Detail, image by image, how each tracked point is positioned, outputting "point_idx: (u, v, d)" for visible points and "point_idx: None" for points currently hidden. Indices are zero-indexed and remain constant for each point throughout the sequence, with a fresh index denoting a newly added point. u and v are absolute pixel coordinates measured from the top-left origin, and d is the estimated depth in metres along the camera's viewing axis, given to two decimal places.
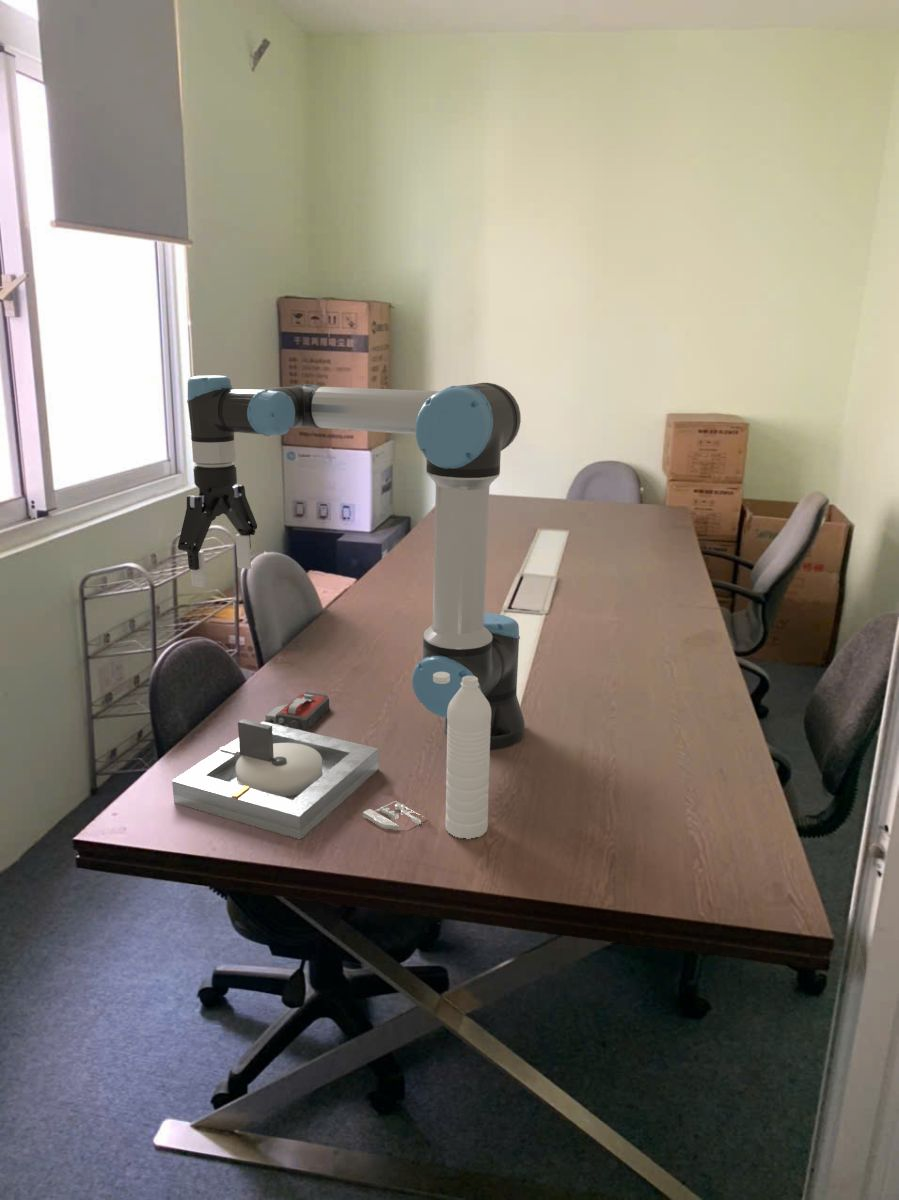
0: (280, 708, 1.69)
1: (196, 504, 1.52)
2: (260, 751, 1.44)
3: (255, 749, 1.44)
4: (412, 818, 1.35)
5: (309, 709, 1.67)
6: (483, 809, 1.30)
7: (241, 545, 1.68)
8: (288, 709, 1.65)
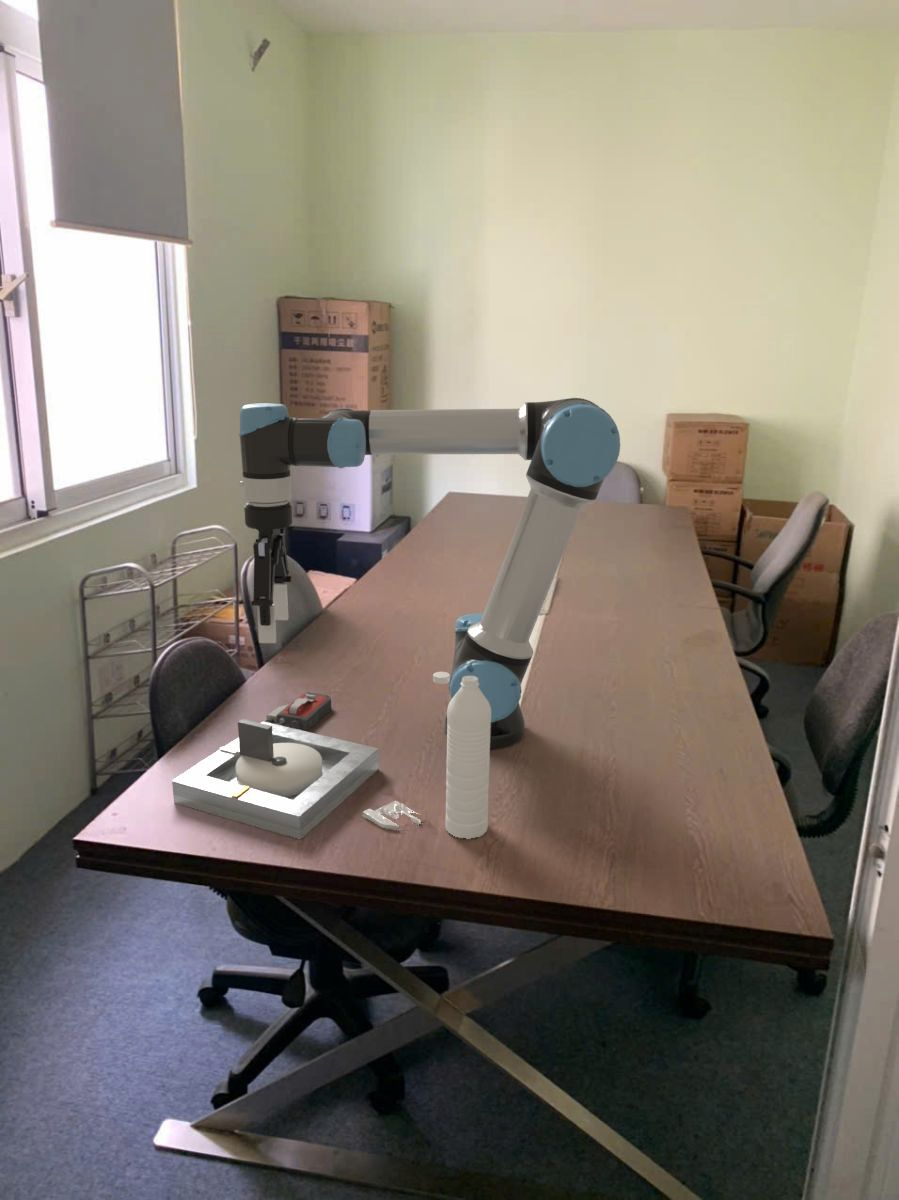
0: (282, 708, 1.69)
1: (267, 552, 1.35)
2: (260, 751, 1.44)
3: (255, 749, 1.44)
4: (412, 818, 1.35)
5: (310, 709, 1.67)
6: (483, 809, 1.30)
7: (278, 595, 1.50)
8: (289, 709, 1.65)
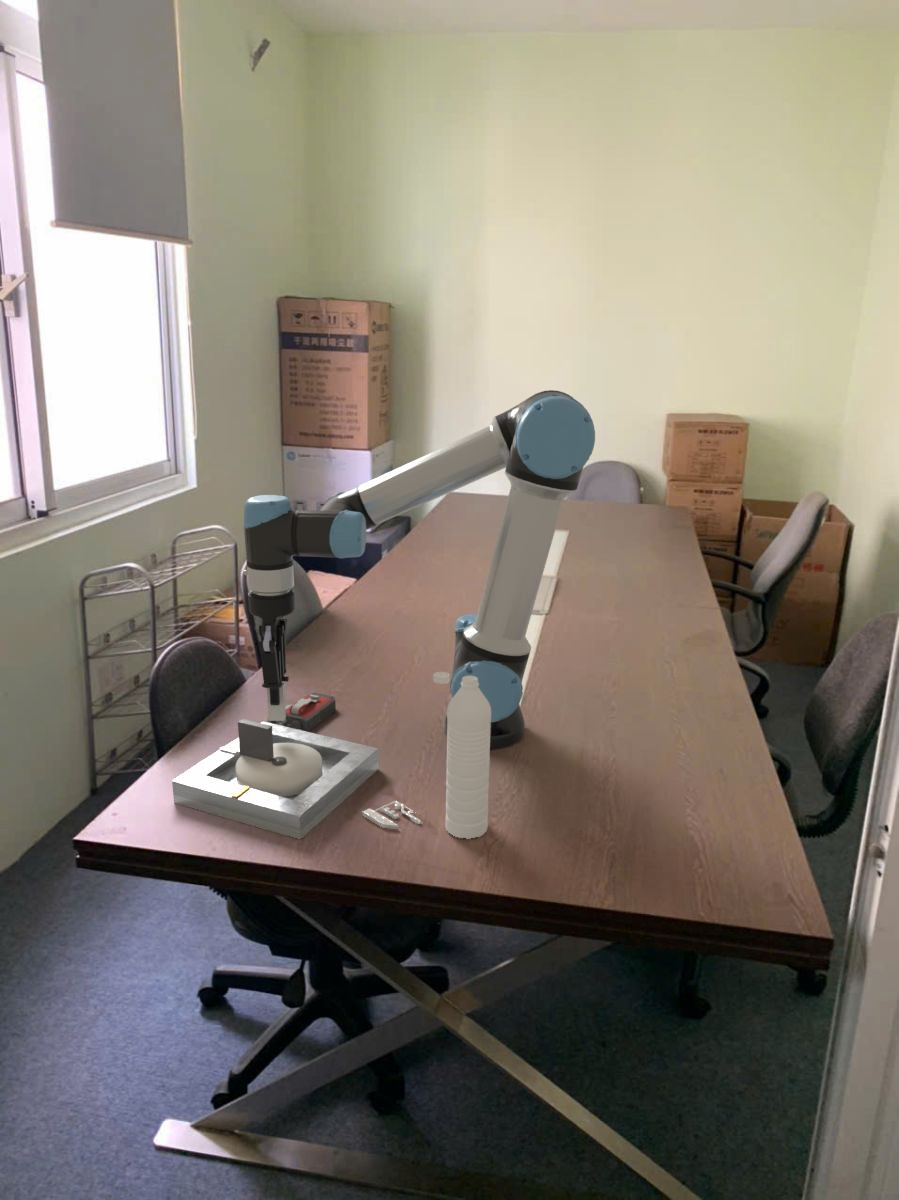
0: (285, 707, 1.69)
1: (272, 649, 1.41)
2: (260, 751, 1.44)
3: (255, 749, 1.44)
4: (412, 818, 1.35)
5: (313, 710, 1.67)
6: (483, 809, 1.30)
7: None
8: (291, 709, 1.65)
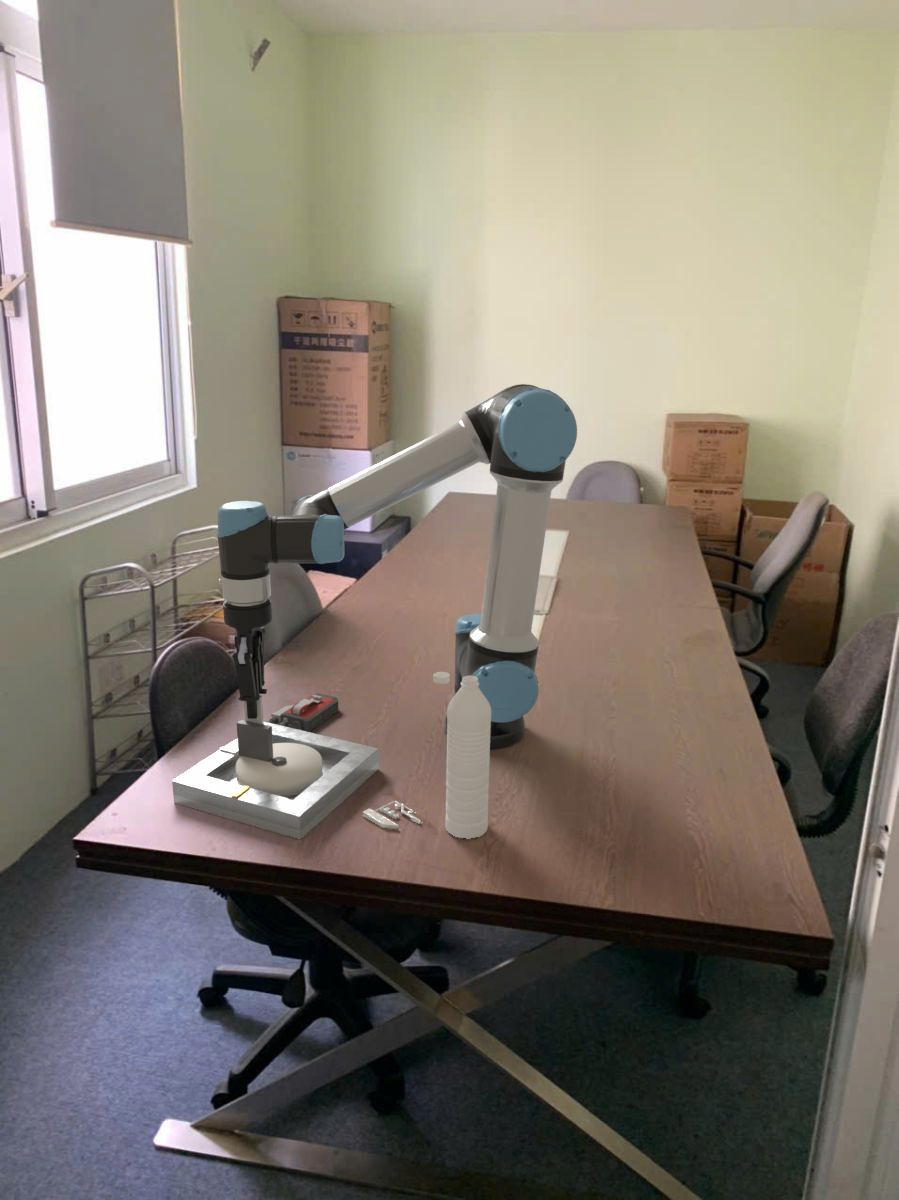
0: (288, 708, 1.69)
1: (248, 662, 1.36)
2: (260, 751, 1.43)
3: (254, 750, 1.44)
4: (412, 818, 1.35)
5: (314, 710, 1.66)
6: (483, 809, 1.30)
7: None
8: (292, 709, 1.65)
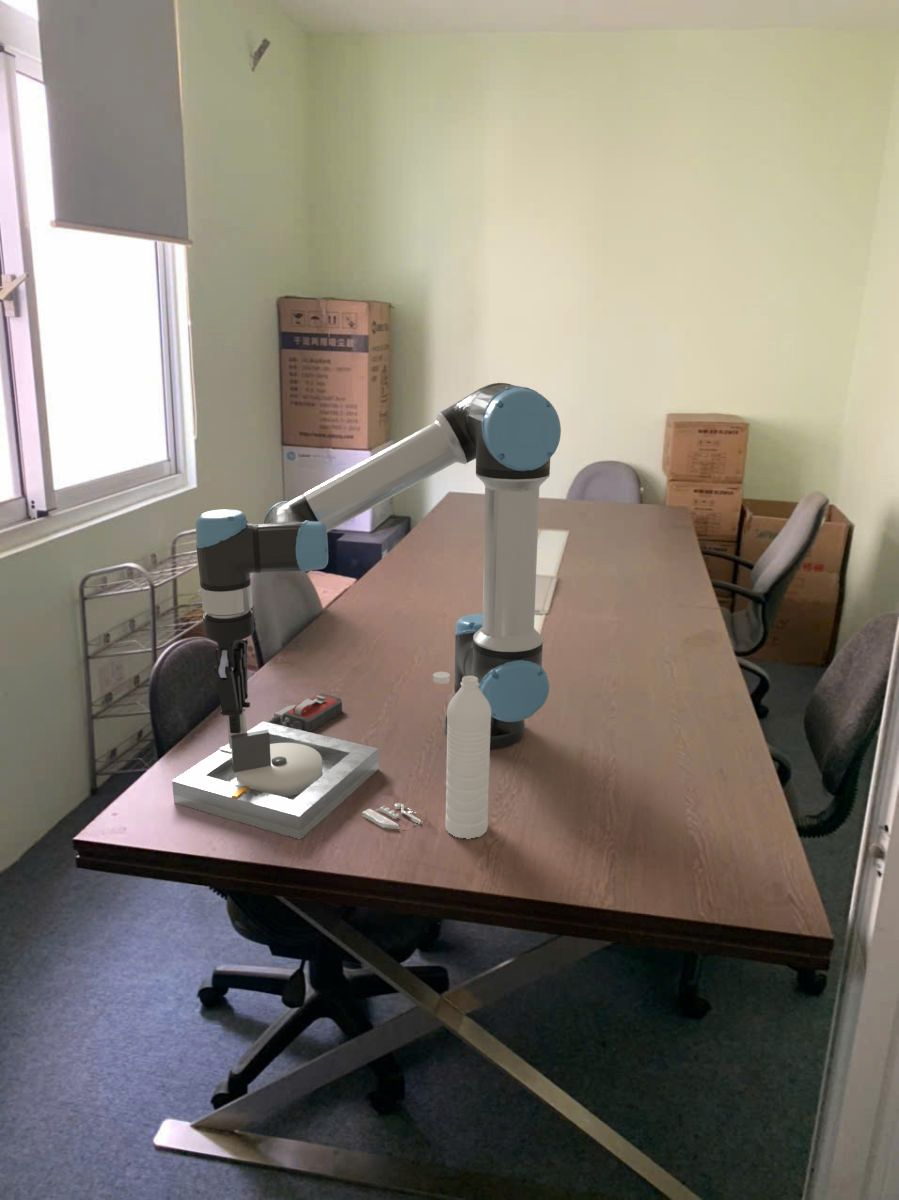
0: (291, 707, 1.69)
1: (229, 676, 1.31)
2: (260, 759, 1.41)
3: (253, 759, 1.41)
4: (412, 818, 1.35)
5: (316, 711, 1.66)
6: (483, 809, 1.30)
7: None
8: (294, 709, 1.65)
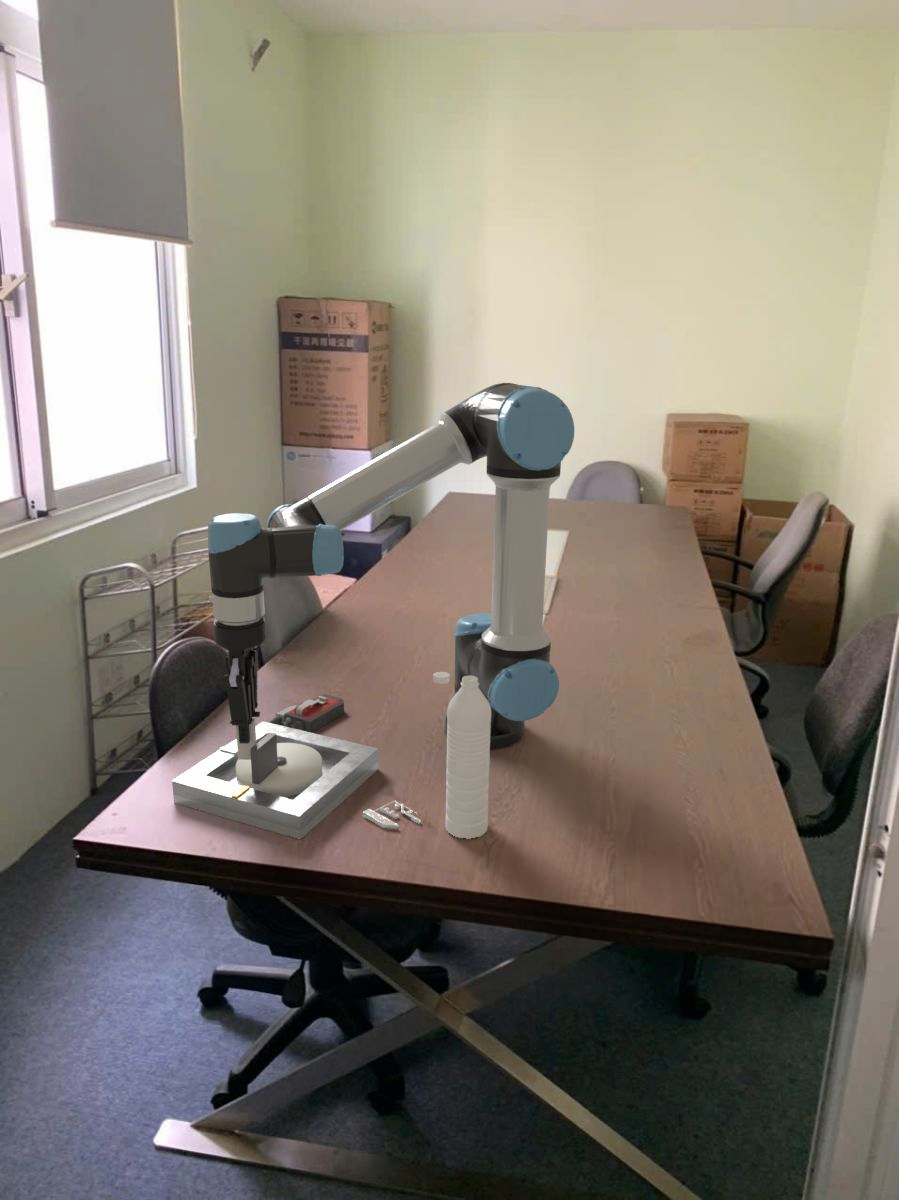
0: (293, 707, 1.69)
1: (240, 685, 1.27)
2: (272, 763, 1.40)
3: (269, 765, 1.39)
4: (412, 818, 1.35)
5: (318, 711, 1.66)
6: (483, 809, 1.30)
7: None
8: (296, 709, 1.65)
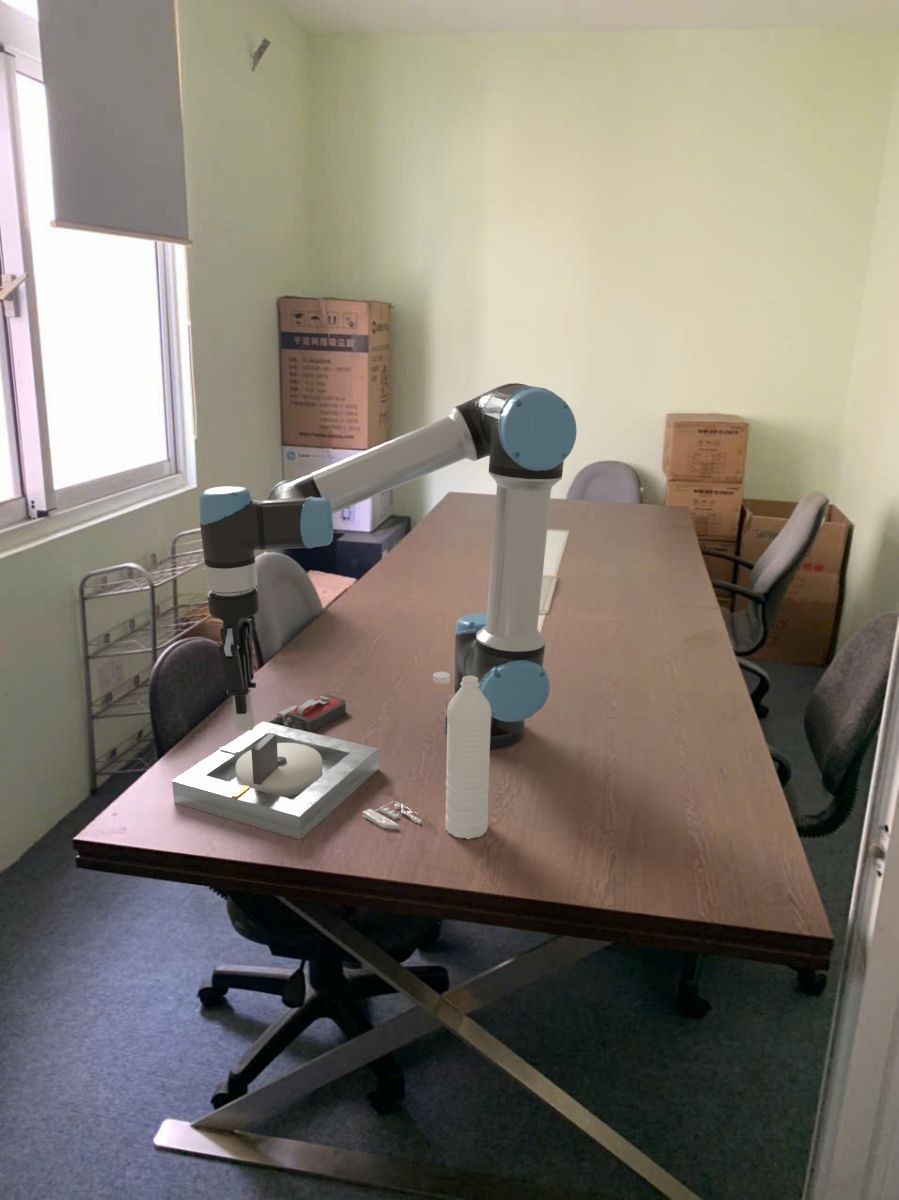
0: (295, 707, 1.69)
1: (235, 654, 1.30)
2: (272, 763, 1.40)
3: (269, 765, 1.39)
4: (412, 818, 1.35)
5: (319, 712, 1.66)
6: (483, 809, 1.30)
7: None
8: (296, 709, 1.65)
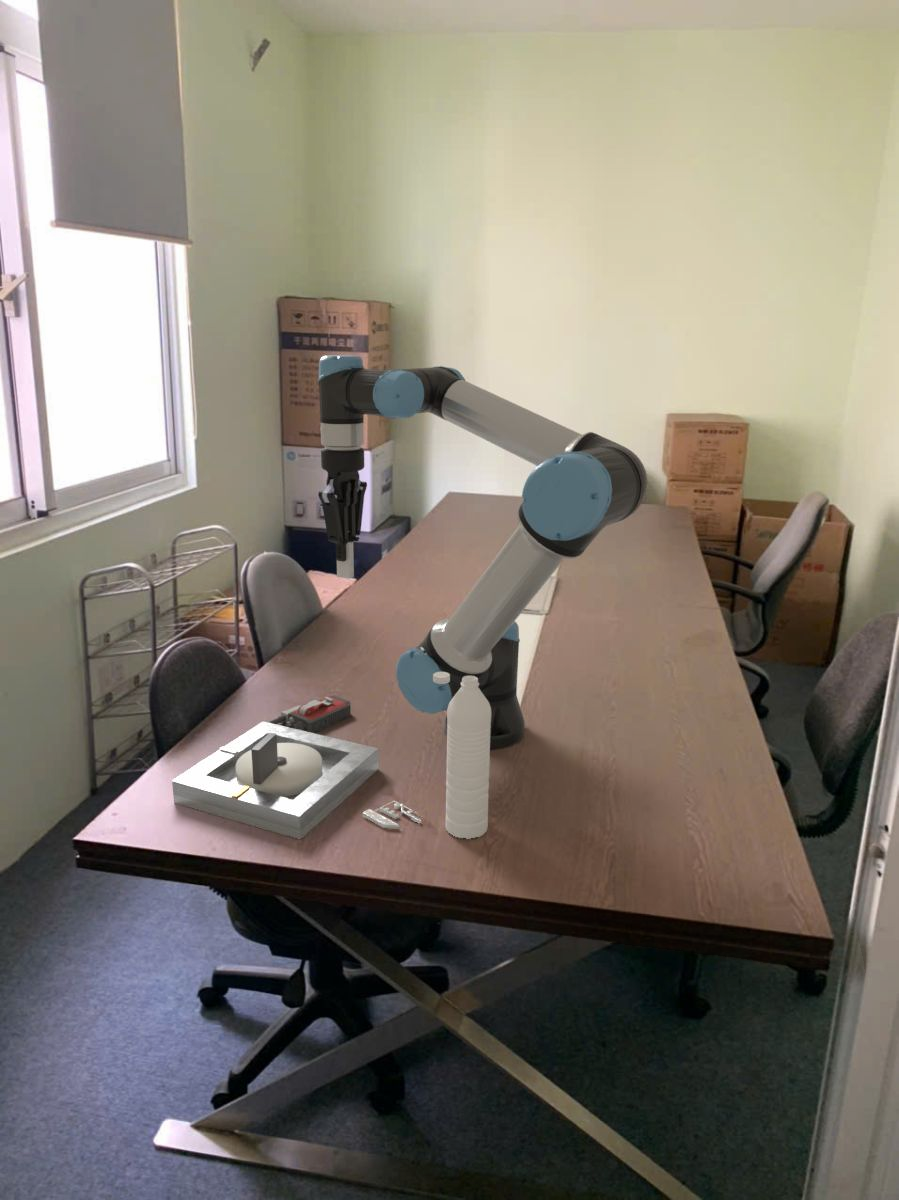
0: None
1: (331, 501, 1.49)
2: (272, 763, 1.40)
3: (269, 765, 1.39)
4: (412, 818, 1.35)
5: (321, 713, 1.65)
6: (483, 809, 1.30)
7: None
8: (299, 709, 1.65)
